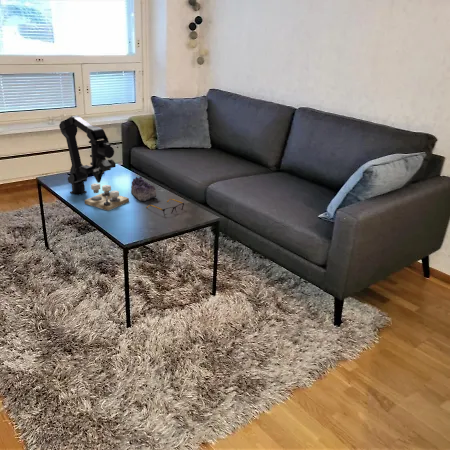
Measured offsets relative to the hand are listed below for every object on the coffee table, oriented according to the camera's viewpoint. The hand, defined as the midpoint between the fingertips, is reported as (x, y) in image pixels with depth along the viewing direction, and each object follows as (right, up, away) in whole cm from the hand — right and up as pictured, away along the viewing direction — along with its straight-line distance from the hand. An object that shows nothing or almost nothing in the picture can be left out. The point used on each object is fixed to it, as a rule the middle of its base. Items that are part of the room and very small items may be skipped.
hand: (98, 182), depth 237 cm
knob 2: (+2, -5, +10) cm, 11 cm away
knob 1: (-2, -5, +2) cm, 6 cm away
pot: (+5, -12, -3) cm, 13 cm away
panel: (+3, -10, +5) cm, 12 cm away
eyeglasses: (+34, -14, +2) cm, 37 cm away
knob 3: (+8, -9, +3) cm, 12 cm away
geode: (+19, -6, +18) cm, 27 cm away
